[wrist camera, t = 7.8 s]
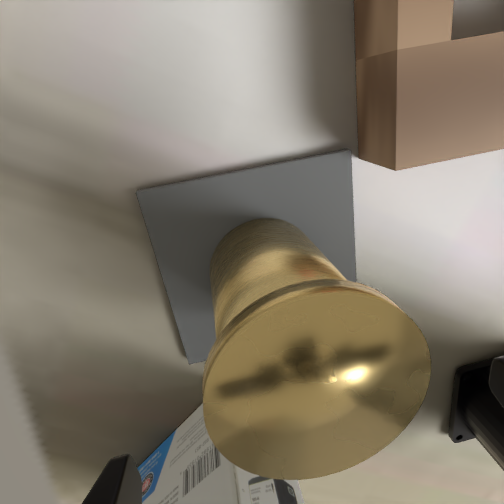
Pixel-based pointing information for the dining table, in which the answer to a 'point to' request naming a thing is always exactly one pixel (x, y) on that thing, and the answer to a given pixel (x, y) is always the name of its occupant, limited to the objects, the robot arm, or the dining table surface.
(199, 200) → the felt pad
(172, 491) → the ink box
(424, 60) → the bore block
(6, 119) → the dining table surface
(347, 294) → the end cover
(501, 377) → the robot arm
